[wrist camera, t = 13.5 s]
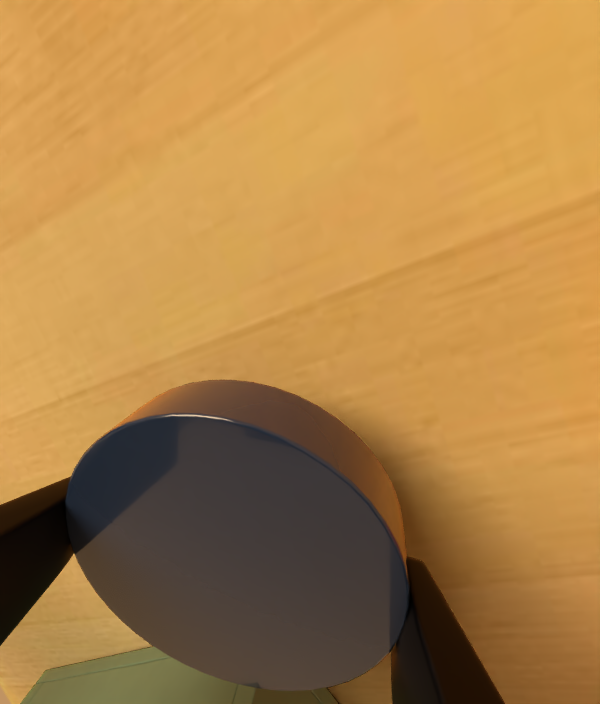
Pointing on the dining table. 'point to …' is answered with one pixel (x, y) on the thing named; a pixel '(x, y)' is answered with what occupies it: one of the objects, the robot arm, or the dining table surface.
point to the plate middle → (244, 536)
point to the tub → (153, 684)
